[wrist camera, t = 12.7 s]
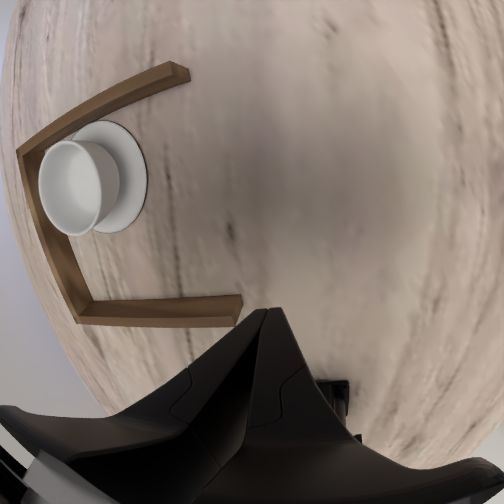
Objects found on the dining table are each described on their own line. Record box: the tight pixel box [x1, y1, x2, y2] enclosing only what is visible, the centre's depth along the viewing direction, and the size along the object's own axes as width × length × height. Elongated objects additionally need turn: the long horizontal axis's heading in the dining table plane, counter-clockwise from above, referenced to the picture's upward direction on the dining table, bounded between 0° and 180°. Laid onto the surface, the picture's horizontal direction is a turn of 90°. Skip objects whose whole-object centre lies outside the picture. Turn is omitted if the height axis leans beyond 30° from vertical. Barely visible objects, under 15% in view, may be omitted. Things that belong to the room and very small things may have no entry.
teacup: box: [38, 121, 147, 236], centre depth 19 cm, size 10×10×5 cm
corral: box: [16, 61, 243, 328], centre depth 21 cm, size 19×18×3 cm
